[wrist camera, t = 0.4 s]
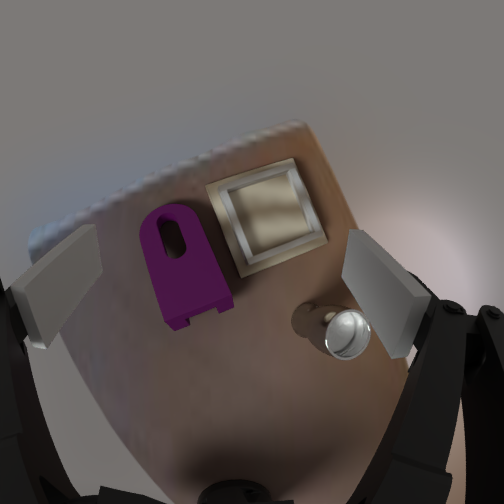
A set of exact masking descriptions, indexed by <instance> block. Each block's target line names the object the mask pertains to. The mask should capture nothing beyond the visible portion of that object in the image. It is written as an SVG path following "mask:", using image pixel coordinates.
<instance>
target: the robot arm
mask: <svg viewBox="0 0 504 504" xmlns="http://www.w3.org/2000/svg"><path fill="white" fill-rule="evenodd" d="M102 272H103V270H102V265H101V259H100V253H99V246H98V239H97V232H96V224H89V225H82V226H81V227H80V228H78V229H77V230H76V231H74V232H73V233H72V234H70V235H69V236H68V237H67V238H65V239H64V240H63V241H62V242H60V243H59V244H58V245H57V246H55V247H54V248H53V249H52V250H50V251H49V252H48V253H47V254H46V255H44V256H43V257H42V258H41V259H40V260H39V261H37V262H36V263H35V264H34V265H33V266H32V267H31V268H29V269H28V270H27V271H26V272H25V273H24V274H23V275H22V276H20V277H19V278H18V279H17V280H16V281H15V282H14V283H13V284H12V285H11V286H10V287H9V288H8V289H7V290H6V291H4V288H3V285H2V282H1V279H0V504H166V503H163V502H160V501H158V500H155V499H153V498H150V497H147V496H145V495H141V494H136V493H130V492H126V491H121V490H116V489H112V488H108V487H104V486H100V490H99V495H89V496H82V497H81V496H80V495H79V494H78V492H77V491H76V490H75V488H74V487H73V485H72V484H71V482H70V480H69V478H68V476H67V474H66V471H65V470H64V467H63V465H62V463H61V460H60V458H59V456H58V453H57V451H56V448H55V446H54V443H53V440H52V438H51V435H50V432H49V429H48V427H47V424H46V421H45V418H44V415H43V411H42V408H41V405H40V402H39V398H38V395H37V391H36V387H35V383H34V379H33V375H32V371H31V367H30V362H29V357H28V353H27V347H26V346H25V343H24V341H23V340H24V339H25V337H26V336H27V335H28V336H29V339H30V341H31V343H32V345H33V347H37V348H42V349H47V348H48V347H49V345H50V344H51V342H52V341H53V339H54V338H55V336H56V335H57V333H58V332H59V331H60V329H61V328H62V326H63V325H64V323H65V322H66V320H67V319H68V318H69V316H70V315H71V313H72V312H73V311H74V309H75V308H76V307H77V305H78V304H79V302H80V301H81V300H82V298H83V297H84V296H85V294H86V293H87V292H88V290H89V289H90V288H91V287H92V285H93V284H94V283H95V281H96V280H97V279H98V277H99V276H100V275H101V274H102ZM341 277H342V279H343V280H344V282H345V284H346V285H347V287H348V288H349V290H350V291H351V293H352V294H353V296H354V298H355V299H356V301H357V302H358V304H359V306H360V307H361V309H362V310H363V312H364V314H365V315H366V317H367V319H368V320H369V322H370V323H371V325H372V327H373V328H374V330H375V332H376V333H377V335H378V337H379V338H380V340H381V342H382V343H383V345H384V347H385V349H386V350H387V352H388V354H389V355H390V357H391V359H394V358H401V357H407V356H408V355H409V352H410V350H411V348H412V345H413V344H414V346H415V347H416V349H417V350H418V351H417V353H416V355H415V357H414V359H413V361H412V364H411V366H410V368H409V370H408V372H409V375H408V378H407V380H406V383H405V386H404V389H403V391H402V394H401V397H400V399H399V402H398V404H397V407H396V409H395V411H394V414H393V416H392V418H391V421H390V423H389V425H388V428H387V430H386V432H385V434H384V436H383V438H382V441H381V443H380V445H379V447H378V449H377V451H376V453H375V455H374V457H373V459H372V461H371V462H370V464H369V466H368V468H367V470H366V472H365V474H364V475H363V477H362V479H361V481H360V482H359V484H358V486H357V488H356V489H355V491H354V493H353V494H352V496H351V497H350V499H349V500H348V501H347V503H346V504H446V500H447V498H448V495H449V492H450V488H451V484H452V474H451V473H447V472H446V470H445V469H446V464H447V461H448V457H449V453H450V449H451V445H452V440H453V436H454V431H455V427H456V422H457V416H458V411H459V405H460V398H461V400H462V409H463V418H464V431H465V447H466V495H465V496H466V497H465V504H504V314H503V313H502V312H501V311H500V309H498V308H496V307H495V306H489V305H484V306H482V307H481V308H480V310H479V313H478V315H477V316H473V315H467V313H466V310H465V309H464V308H463V307H462V306H461V305H459V304H458V303H456V302H454V301H450V300H440V299H439V298H438V297H437V296H436V295H435V294H434V293H433V292H432V291H431V290H430V289H429V288H427V286H426V285H425V284H424V283H422V281H421V280H420V279H419V278H418V277H417V276H415V275H414V274H412V273H410V272H408V271H406V270H405V269H404V268H403V267H402V266H401V265H400V264H399V263H398V262H397V261H396V260H395V259H394V258H393V257H392V256H391V255H390V254H389V253H388V252H387V251H385V250H384V249H383V248H382V247H381V246H380V245H379V244H378V243H377V242H376V241H375V240H373V239H372V238H371V237H370V236H369V235H368V234H367V233H366V232H364V231H363V230H355V229H350V230H349V236H348V242H347V248H346V254H345V260H344V265H343V271H342V276H341ZM197 504H294V501H293V500H285V501H272V498H271V495H270V493H269V492H268V490H267V489H266V488H264V487H263V486H261V485H260V484H257V483H255V482H251V481H246V480H229V481H224V482H220V483H217V484H214V485H212V486H210V487H208V488H207V489H205V490H204V491H203V492H202V493H201V494H200V496H199V498H198V502H197Z"/></svg>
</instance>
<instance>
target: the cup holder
mask: <svg viewBox="0 0 504 504" xmlns="http://www.w3.org/2000/svg"><path fill="white" fill-rule="evenodd" d="M206 190H207V193H208V195H209V198H210V200H211V203H212V206H213V208H214V211H215V214H216V216H217V219H218V221H219V224H220V227H221V229H222V232H223V234H224V237H225V240H226V242H227V245H228V247H229V250H230V253H231V255H232V258H233V260H234V263H235V265H236V268H237V270H238V273H239V276H240V278H243V277H246V276H248V275H251V274H253V273H256V272H258V271H261V270H263V269H265V268H268V267H270V266H273V265H275V264H278V263H280V262H283V261H285V260H288V259H290V258H292V257H295V256H297V255H300V254H302V253H305V252H307V251H309V250H312V249H314V248H317V247H319V246H322V245H324V244H326V243H328V241H327V239H326V236H325V233H324V231H323V228H322V226H321V223H320V221H319V218H318V216H317V213H316V211H315V208H314V206H313V204H312V201H311V199H310V196H309V194H308V192H307V189H306V187H305V185H304V182H303V180H302V178H301V175H300V173H299V171H298V169H297V166H296V164H295V162H294V160H293V158H291V159H287V160H284V161H280V162H277V163H274V164H270V165H267V166H264V167H260V168H257V169H254V170H251V171H247V172H244V173H241V174H238V175H235V176H232V177H229V178H226V179H223V180H220V181H217V182H214V183H211V184H208V185H206Z"/></svg>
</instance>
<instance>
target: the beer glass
mask: <svg viewBox="0 0 504 504" xmlns="http://www.w3.org/2000/svg"><path fill="white" fill-rule="evenodd" d="M291 324H292V328H293V330H294V332H295V333H296V334H297V335H299V336H300V337H303V338H308V340H309V341H310V342H311V343H312V344H313V345H314V347H316V348H317V349H318V350H320V351H321V352H323V353H325V354H327V355H329V356H332V357H335V358H337V359H340V360H350V359H353V358H355V357H357V356H359V355H360V354H361V353H362V352H363V351H364V350H365V348H366V347H367V345H368V343H369V340H370V336H371V327H370V323H369V321H368V319H367V317H366V316H365V315H364V314H363V313H362V312H360V311H358V310H354V309H351V308H349V307H345V306H341V305H325V306H318V305H317V304H314V303H305V304H302V305H300V306H299V307H298V308H297V309H296V310H295V311H294V313H293V315H292V319H291Z"/></svg>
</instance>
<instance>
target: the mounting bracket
mask: <svg viewBox="0 0 504 504" xmlns="http://www.w3.org/2000/svg"><path fill="white" fill-rule="evenodd" d="M170 220H173V221H176V222H177V223H178V224H179V227H180V230H181V233H182V235H183V238H184V241H185V243H186V247H187V249H186V252H185V254H184V255H183V256H181V257H180V258H177V259H172V258H169V257H168V255H167V252H166V249H165V246H164V243H163V240H162V237H161V233H160V227H161V225H162V224H163V223H165V222H166V221H170ZM139 236H140V242H141V246H142V249H143V253H144V257H145V260H146V264H147V267H148V271H149V274H150V277H151V281H152V284H153V287H154V291H155V294H156V297H157V300H158V303H159V306H160V309H161V312H162V315H163V318H164V321H165V322H166V323H167V324H168V325H169V326H170V327H171V328H172V329H173V330H174V331H176V330H179V329H182V328H184V327H187V326H189V325H190V321H189V318H190V317H192V316H195V315H197V314H200V313H202V312H205V311H207V310H210V309H212V308H215V307H216V308H217V310H218V312H219V313H222V312H224V311H226V310H229V309H231V308H234V303H233V298H232V294H231V292H230V290H229V287H228V285H227V283H226V281H225V278H224V276H223V274H222V272H221V269H220V267H219V265H218V263H217V260H216V258H215V256H214V254H213V251H212V249H211V247H210V244H209V242H208V240H207V237H206V235H205V233H204V230H203V228H202V226H201V223H200V221H199V219H198V216H197V215H196V213H195V212H194V211H193V210H192V209H191V208H189V207H187V206H185V205H181V204H168V205H164V206H161V207H159V208H157V209H155V210H154V211H152V212H151V213H150V214H149V215H148V216H147V217H146V218H145V220H144V221H143V223H142V225H141V228H140V234H139Z"/></svg>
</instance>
